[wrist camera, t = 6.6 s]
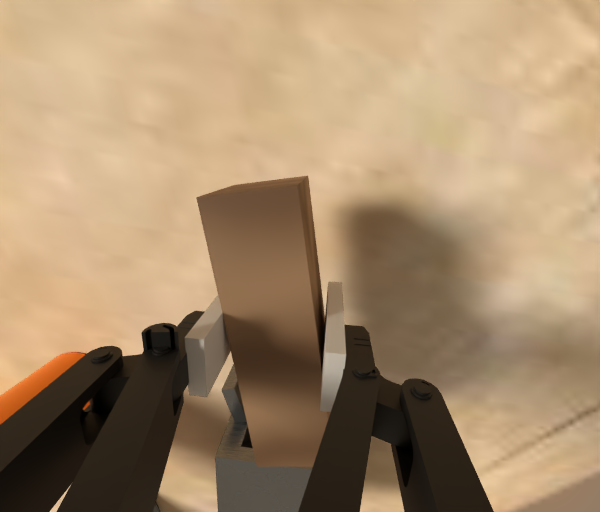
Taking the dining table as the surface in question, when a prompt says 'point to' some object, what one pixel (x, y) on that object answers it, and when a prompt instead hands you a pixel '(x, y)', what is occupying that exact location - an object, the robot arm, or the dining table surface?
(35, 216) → the dining table surface
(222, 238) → the brown wooden block
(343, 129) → the dining table surface
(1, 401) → the shaker bottle
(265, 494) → the end cap
